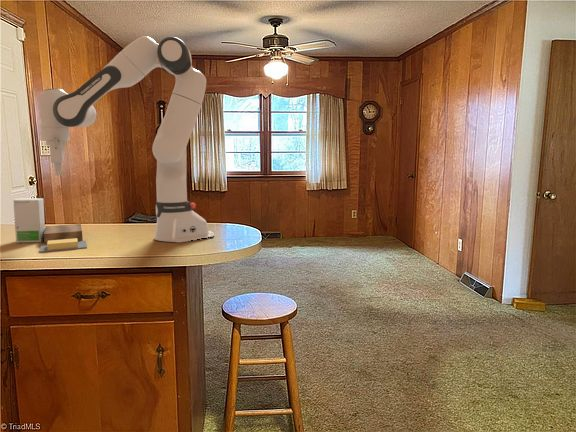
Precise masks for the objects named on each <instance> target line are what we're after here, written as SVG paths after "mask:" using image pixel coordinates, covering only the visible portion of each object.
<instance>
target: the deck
mask: <svg viewBox="0 0 576 432" xmlns="http://www.w3.org/2000/svg"><path fill="white" fill-rule="evenodd" d="M74 238H77V240H78V241H84V240H83V238H84V237H83V229H82V224H81V223H76V224H59V225H58V224H57V225H48V226H47V225H45V231H44V240H43V241H44V244H47V242H48V241H50V240H62V239H74Z"/></svg>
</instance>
